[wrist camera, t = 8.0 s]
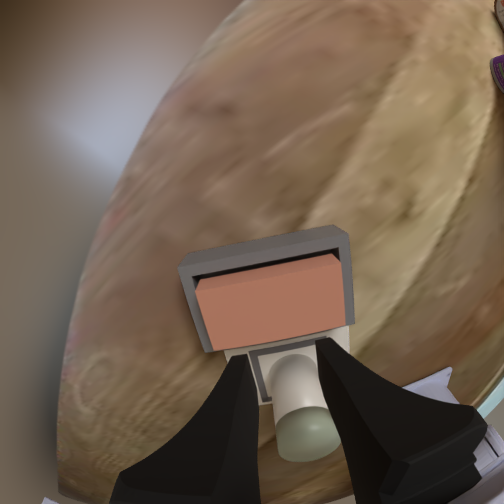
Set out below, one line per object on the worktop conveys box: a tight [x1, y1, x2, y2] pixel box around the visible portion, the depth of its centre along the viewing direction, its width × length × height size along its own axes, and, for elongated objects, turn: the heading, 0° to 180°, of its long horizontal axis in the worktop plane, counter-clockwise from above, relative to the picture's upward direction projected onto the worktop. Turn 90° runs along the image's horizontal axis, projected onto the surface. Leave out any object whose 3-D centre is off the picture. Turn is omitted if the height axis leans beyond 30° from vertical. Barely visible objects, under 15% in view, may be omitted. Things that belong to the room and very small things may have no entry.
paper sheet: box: [224, 325, 349, 405], centre depth 21 cm, size 7×10×1 cm
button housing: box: [177, 225, 355, 353], centre depth 18 cm, size 6×10×3 cm, turn 101°
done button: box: [195, 254, 346, 351], centre depth 16 cm, size 4×8×2 cm, turn 101°
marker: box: [269, 354, 341, 462], centre depth 17 cm, size 4×4×8 cm
